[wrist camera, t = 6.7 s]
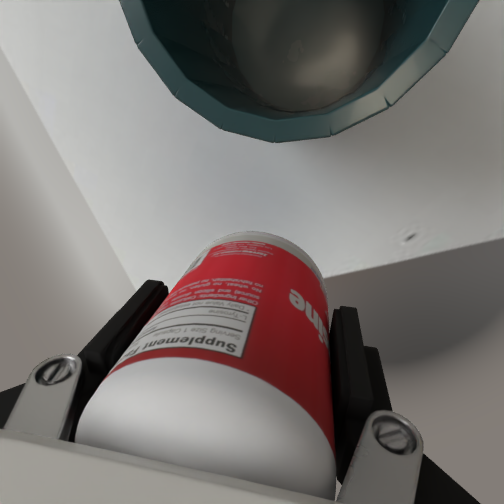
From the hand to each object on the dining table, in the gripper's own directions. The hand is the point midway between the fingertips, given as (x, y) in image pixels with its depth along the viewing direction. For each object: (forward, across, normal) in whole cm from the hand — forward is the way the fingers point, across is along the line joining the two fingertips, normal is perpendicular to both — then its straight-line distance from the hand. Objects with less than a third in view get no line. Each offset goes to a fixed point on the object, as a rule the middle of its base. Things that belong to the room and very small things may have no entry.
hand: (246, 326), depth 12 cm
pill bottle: (+3, 0, 0) cm, 3 cm away
